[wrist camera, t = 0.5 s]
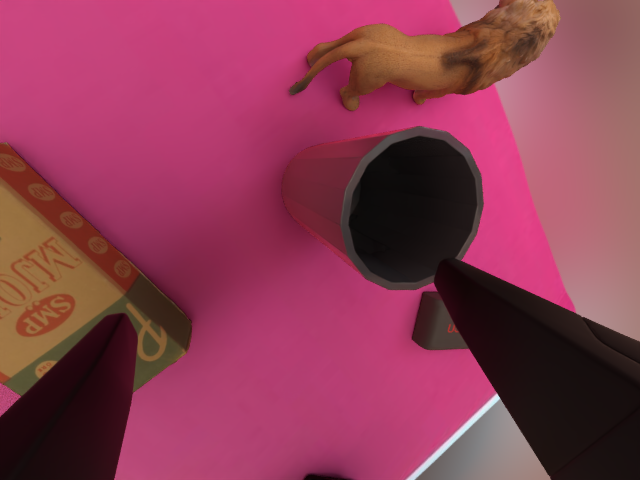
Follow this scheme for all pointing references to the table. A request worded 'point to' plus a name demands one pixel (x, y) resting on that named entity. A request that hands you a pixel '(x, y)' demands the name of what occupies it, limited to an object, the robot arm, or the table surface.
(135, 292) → the carton
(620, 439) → the robot arm
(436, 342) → the usb drive
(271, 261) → the table surface
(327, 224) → the pen pot
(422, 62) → the lion figurine
